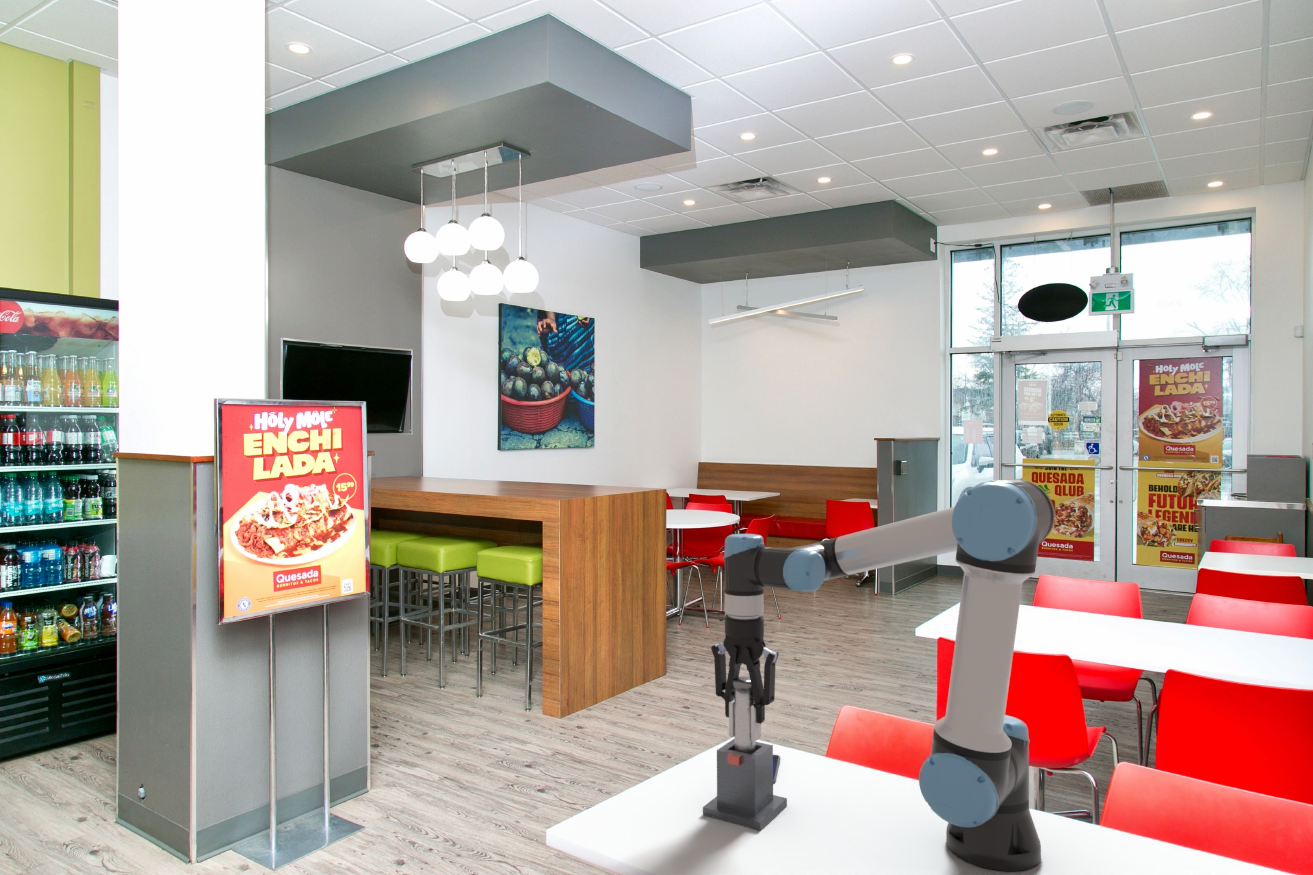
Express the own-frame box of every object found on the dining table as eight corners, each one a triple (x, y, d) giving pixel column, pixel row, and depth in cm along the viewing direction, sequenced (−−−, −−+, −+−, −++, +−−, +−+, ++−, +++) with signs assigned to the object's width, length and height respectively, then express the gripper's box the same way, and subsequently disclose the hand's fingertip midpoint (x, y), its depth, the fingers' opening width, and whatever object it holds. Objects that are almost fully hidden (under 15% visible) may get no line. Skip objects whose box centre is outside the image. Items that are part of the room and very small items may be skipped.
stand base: (786, 805, 158) (786, 743, 158) (760, 830, 148) (760, 764, 148) (731, 791, 164) (731, 732, 164) (702, 814, 154) (702, 751, 154)
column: (762, 799, 157) (761, 678, 157) (751, 808, 152) (750, 684, 153) (739, 793, 159) (739, 675, 159) (728, 802, 155) (727, 680, 155)
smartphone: (740, 779, 169) (748, 752, 184) (740, 783, 169) (748, 756, 184) (775, 781, 168) (781, 754, 182) (775, 786, 168) (781, 758, 182)
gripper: (793, 616, 155) (794, 739, 155) (714, 607, 164) (715, 723, 164) (777, 623, 148) (777, 751, 148) (696, 613, 158) (696, 734, 157)
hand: (744, 736), depth 156 cm, fingers closed on column, 4 cm apart
